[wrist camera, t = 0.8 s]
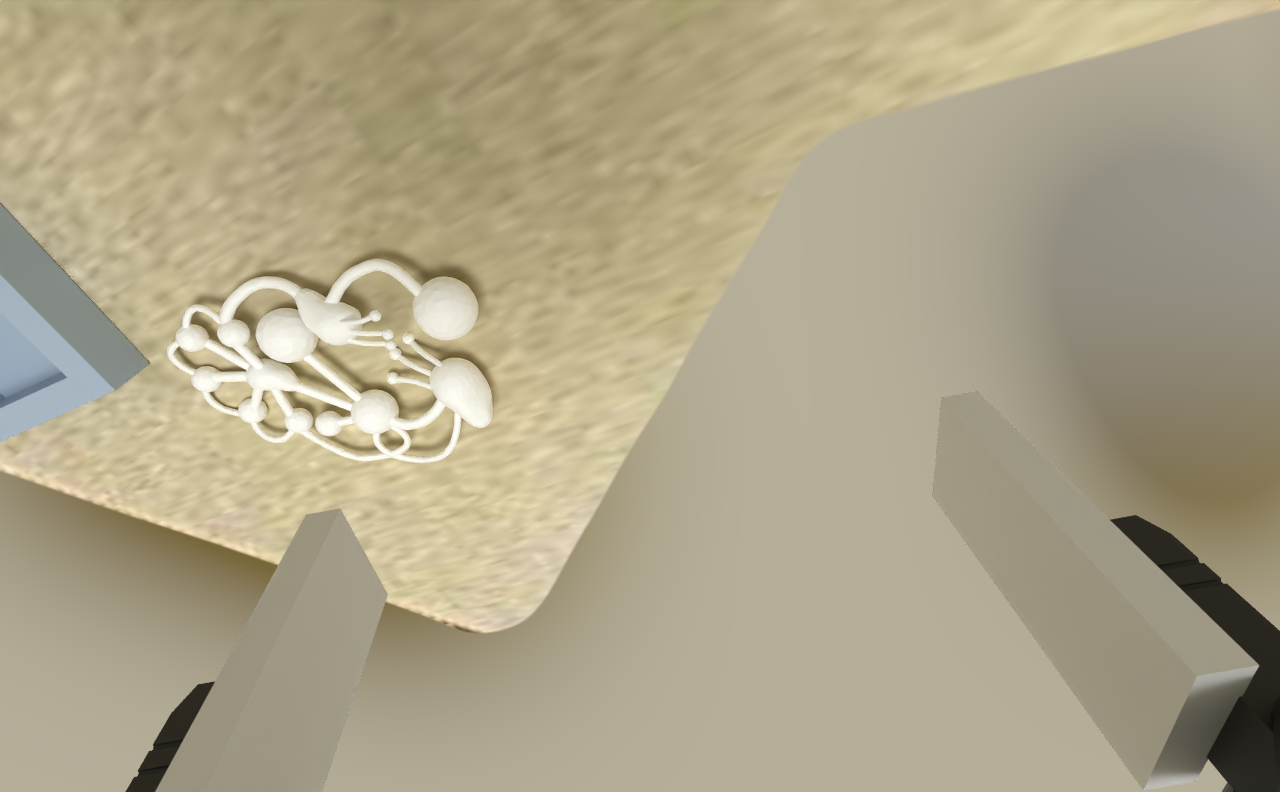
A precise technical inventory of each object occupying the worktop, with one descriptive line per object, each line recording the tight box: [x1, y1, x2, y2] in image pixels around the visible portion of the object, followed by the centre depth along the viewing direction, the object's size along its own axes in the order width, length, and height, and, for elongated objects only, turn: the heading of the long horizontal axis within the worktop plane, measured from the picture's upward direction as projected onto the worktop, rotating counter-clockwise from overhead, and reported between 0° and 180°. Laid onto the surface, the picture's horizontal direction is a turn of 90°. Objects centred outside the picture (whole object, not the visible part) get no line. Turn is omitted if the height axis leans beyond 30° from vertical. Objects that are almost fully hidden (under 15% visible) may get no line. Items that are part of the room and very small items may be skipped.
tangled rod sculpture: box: [166, 259, 493, 463], centre depth 41 cm, size 19×14×4 cm
